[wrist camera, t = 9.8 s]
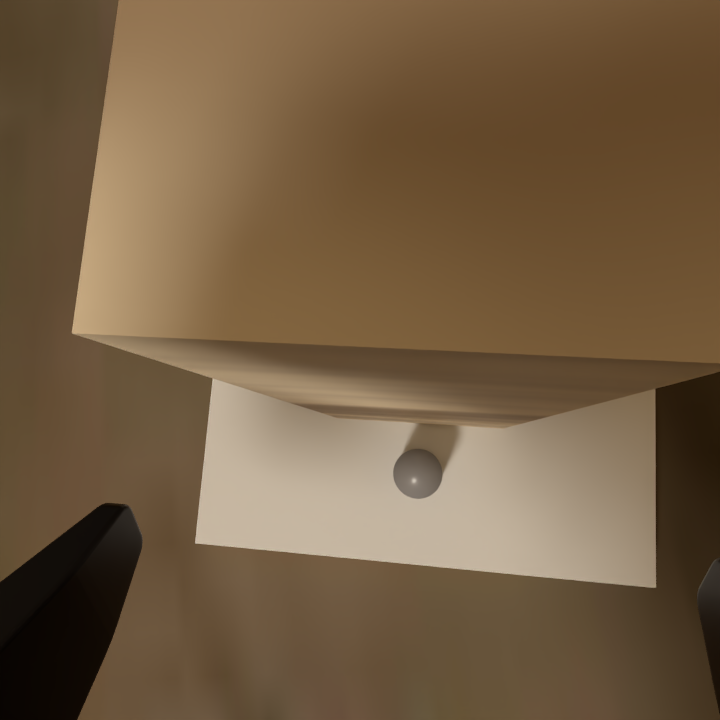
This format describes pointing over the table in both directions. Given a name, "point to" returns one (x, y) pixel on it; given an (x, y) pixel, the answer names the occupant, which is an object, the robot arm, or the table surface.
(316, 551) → the stub base plate
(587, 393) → the maple block
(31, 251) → the table surface
